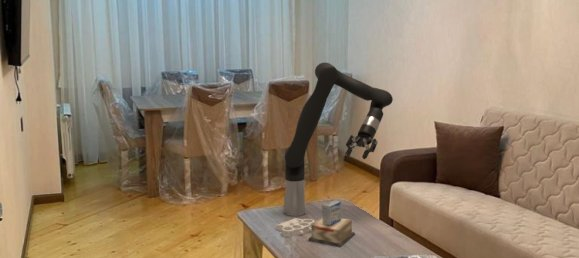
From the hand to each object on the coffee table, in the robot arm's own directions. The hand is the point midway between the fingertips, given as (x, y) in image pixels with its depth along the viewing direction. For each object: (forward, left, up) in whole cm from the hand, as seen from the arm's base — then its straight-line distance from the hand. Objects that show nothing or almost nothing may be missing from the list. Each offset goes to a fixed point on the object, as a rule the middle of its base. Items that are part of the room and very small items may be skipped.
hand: (355, 156), depth 266 cm
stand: (-1, -24, -31) cm, 39 cm away
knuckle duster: (-19, -23, -31) cm, 43 cm away
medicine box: (-1, -24, -24) cm, 34 cm away
